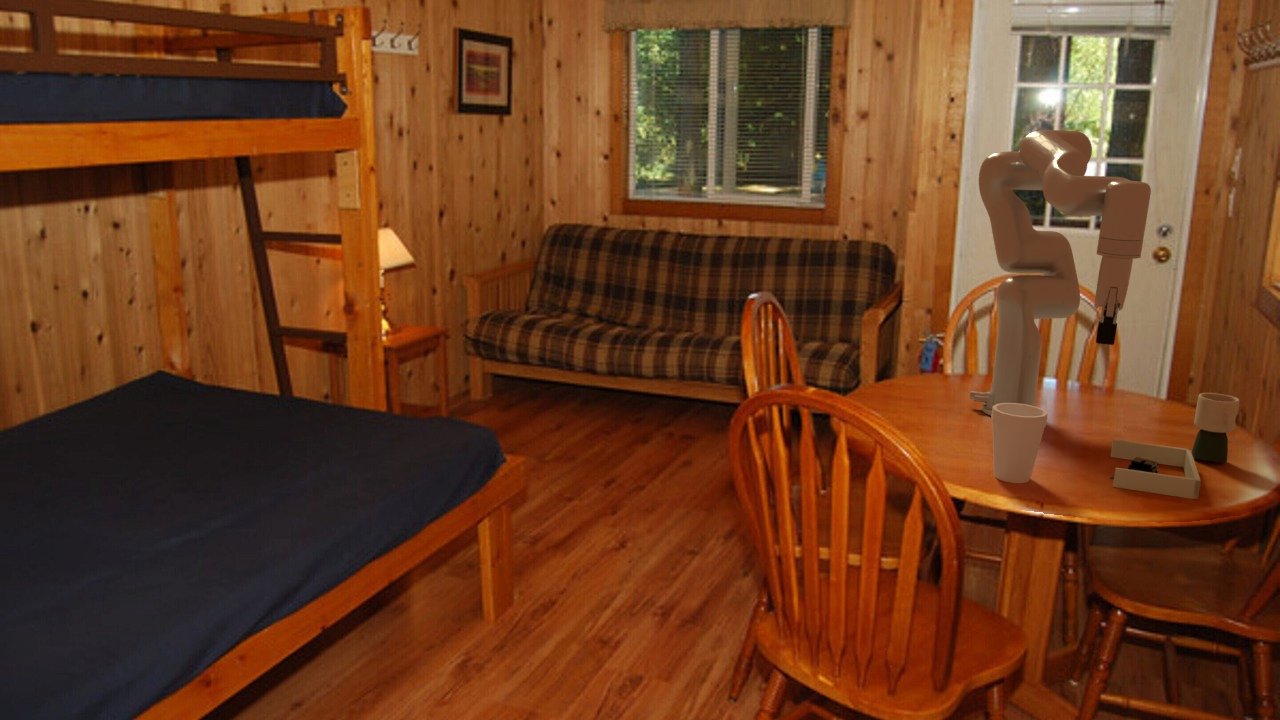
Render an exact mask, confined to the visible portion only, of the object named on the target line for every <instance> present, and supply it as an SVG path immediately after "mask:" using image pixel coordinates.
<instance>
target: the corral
mask: <svg viewBox="0 0 1280 720" xmlns="http://www.w3.org/2000/svg"><path fill="white" fill-rule="evenodd" d="M1110 451H1111V452H1110V458H1115V459H1116V458H1117V459H1123V460H1124V459H1125V460H1129V461H1131V460H1133V459H1135V458H1136V457H1139V458H1143V459H1147V460H1151V461H1156V462H1157V464H1159V465H1167V466H1174V467H1179V468H1180V467H1181V468H1183V470H1184V475H1185V476H1178V475H1171V474H1170V475H1169V474H1162V473H1159V472H1158V473H1151V472H1144V471H1137V470H1130V469H1128V468H1121V467H1115V471H1114V475H1113V476H1114V480H1113V484H1112V487H1113V488H1117V489H1124V490H1132V491H1138V492H1143V493H1151V494H1158V495H1164V496H1170V497H1171V496H1172V497H1179V498H1184V499H1191V500H1199V494H1200V490H1201V489H1200V487H1201V483H1202V482H1201V477H1200V475H1199V471H1198V468H1197V466H1196V463H1195V458H1194V457H1193V456H1192V450H1191V449H1190V448H1183V447H1175V446H1169V445H1168V446H1167V445H1160V444H1152V443H1146V442H1137V441H1132V440H1131V441H1130V440H1124V439H1116V438H1113V439H1112V444H1111V450H1110Z"/></svg>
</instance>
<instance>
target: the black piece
mask: <svg viewBox="0 0 1280 720" xmlns="http://www.w3.org/2000/svg"><path fill="white" fill-rule="evenodd" d="M1157 464H1158V463H1157V462H1156V461H1151V460H1147V459H1143V458H1139V457H1136V458H1135V459H1133V460H1130V464H1128V467H1127V469H1130V470H1137V471H1144V472H1151V473H1158V474H1159V470H1158V468H1159V466H1158V465H1157ZM1109 479H1110V480H1113V481H1114V475H1113V476H1111V477H1110V478H1109Z"/></svg>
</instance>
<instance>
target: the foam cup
mask: <svg viewBox="0 0 1280 720" xmlns="http://www.w3.org/2000/svg"><path fill="white" fill-rule="evenodd" d="M1048 416H1049V414H1048V412H1047V410H1046V409H1043V408H1041V407H1038V406H1036V405H1035V406H1031V405H1026V404H1018V403H1000V404H996V405H994V406H992V415H991V417H990V419H991V422H992V424H991V425H992V426H991V427H992V461H993V476H994V478H996V479H998V480H1000V481H1002V482H1005V483H1012V484H1025V483H1029V482H1030V480H1031V477H1032V474H1033V471H1034V467H1035V463H1036V460H1037V456H1038V453H1039V450H1040V446H1041V441H1042V438H1043V434H1044V430H1045V428H1046V427H1047V422H1048Z"/></svg>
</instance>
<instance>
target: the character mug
mask: <svg viewBox="0 0 1280 720" xmlns="http://www.w3.org/2000/svg"><path fill="white" fill-rule="evenodd" d="M1240 401H1241V400H1240V398H1238V397H1236V396H1233V395H1230V394H1229V395H1228V394H1222V393H1217V392H1202V393H1199V394H1198V397H1197V401H1196V402H1197V403H1196V406H1195V407H1196V408H1195V415H1194V418H1193V419H1194V421H1193V424H1194V427H1196V428H1199V431H1198V432H1197V433H1196V437H1195V440H1194V443H1193V446H1192V448H1191V449H1192V450H1191V453H1192V456H1193V459H1198V460H1201V461H1206V462H1207V461H1209V462H1210V463H1211V464H1214V463H1215V462H1216V463H1217V462H1218V463H1226V462H1228V450H1229V449H1228V448H1229V447H1228V446H1229V441H1228V439H1229V438H1228V435H1227V433H1231V432H1233V431H1234V430H1235V429H1236V427H1237V424H1236V418H1237V415H1238V414H1239V411H1240V409H1239V407H1240Z"/></svg>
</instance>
